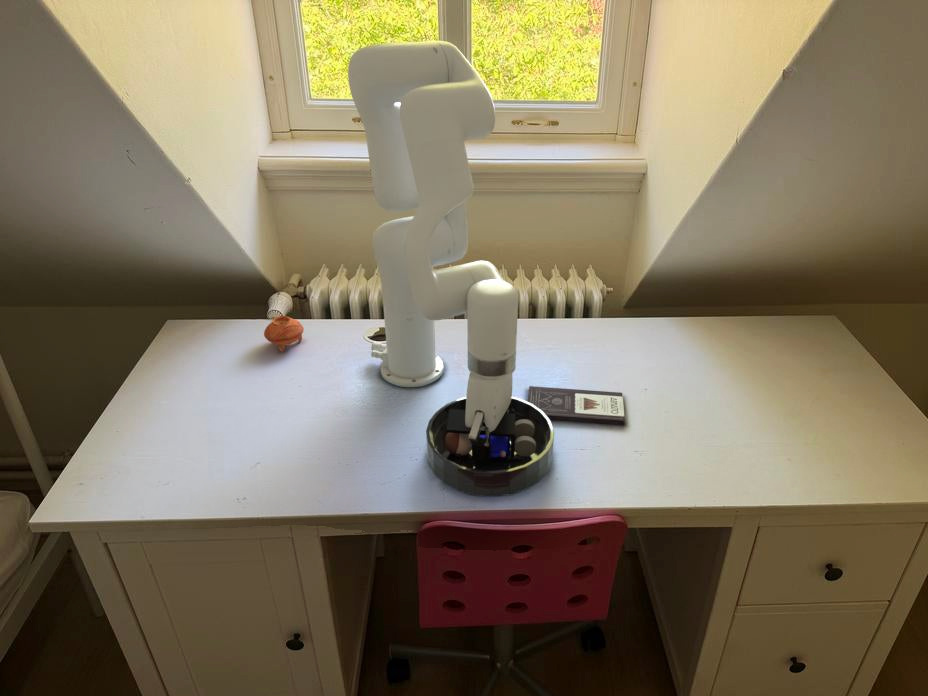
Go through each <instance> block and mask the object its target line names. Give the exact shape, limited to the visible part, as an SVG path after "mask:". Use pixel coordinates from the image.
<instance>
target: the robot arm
mask: <svg viewBox="0 0 928 696" xmlns="http://www.w3.org/2000/svg"><path fill="white" fill-rule="evenodd" d="M347 68H348V69H347V78H348V85H349V91H350V95H351V98H352V101H353V103H354V105H355V108H356V111H357V113H358V115H359V118H360V119H361V123H362V126H363V129H364V134H365V137H366V146H367V153H368V160H369V169H370V175H371V182H372V188H373V192H374V198H375V200H376V203H377V205H378V206H379V208H381V210H383V211H385V212H388V213H402V212H408V211H409V212H410V211H415V210H416V211H415V213H414V215H412V216H407V217H406V216H405V217H401V218H396V219H391V220H389V221H386V222H384V223H382V224H380V225H379V226H378V227H377V228H376V229H375V230H374V232H373V234H372V239H371V241H372V242H371V243H372V249H373V255H374V258H375V263H376V265H377V269H378V275H379V281H380V286H381V296H382V297H381V298H382V306H383V308H382V309H383V319H384V330H385V331H384V333H385V343H386V344H384V343H381V342H377V341H372V343H371V348H370V349H371V352H370V356H371V357H372V358H376V359H381V361H382V362H381V364H380V374H381V377H382V378H383V379H384V380H385V381H386V382H388V383H389V384H392V385H394V386H398V387H403V388H418V387H424V386H426V385H429V384H432V383H433V382H436V381H437V380H439V379H440V378H441V376H442V375H443V374H444V369H445V366H444V365H445V364H444V361H443V359H442V358H441V357H440V356H439V355H437V353H436V330H435V321H442V320H446V319H451V318H454V317H458V316H461V315H465V314H466V315H467V316H466V318H467V321H466V322H467V325H466V326H467V370H468V371H469V372H470V373H469V376H468V380H467V388H466V396H465V397H466V414H465V424H466V426H467V427H470V428H471V427H472V428H471V431H470V434H469V440H470V441H471V444H472V460H473V461H477V462H481V463H485V464H490V463H491V444H490V443H489V442H490V437H491V432H492V431H493V430H495V428H496V427H497V425H498V424H499V422H500V420H501V419H502V417H503V416H504V414H505V413H508V412H509V405H510V402H511V398H512V397H513V373H515V371H516V367H517V365H516V364H517V341H518V340H517V339H518V338H517V336H518V320H519V319H518V317H519V314H518V313H519V294H518V291H517V289H516V287H514V285H513V284H511V283H509V282H507V281H506V280H504V277H503V276H502V275H501V272H500V270H498V268H497V267H496V266H495V265H494V264H493V263H492V262H490V261H488V260H475V261H471V262H467V263H462V264H457V265H451V266H448V267H443V268H439V269H434V270H433V268H435V267H439V266H444V265H447V264H452V263H455V262H458V261H460V260H462V259H463V258H465V256H466V254H467V252H468V249H469V227H468V217H467V216H468V214H467V201H468V200H469V199H470V198H471V197H472V196H473V194H474V192H475V185H474V181H473V176H472V172H471V168H470V163H469V159H468V153H467V149H466V145H465V142H470V141H478V140H483V139H486V138H488V137H489V136H490V135H491V134H492V133H493V131H494V129H495V126H496V108H495V105H494V101H493V100H494V99H493V98H492V95H491V93H490V91H489V89H488V86H487V85H486V84H485V82H484V81H483V79H482V77H481V76H480V74H479V73H478V72H477V70H476V69H475V68H474V66H472V64H471V62H469V60H468V59H467V58H466V57H465V55H464V54H463V53H462V52H461V50H460V49H459V48H458V47H457V46H456V45H455V44H453V43H452V42H450V41H445V40H423V41H399V42H397V41H396V42H383V43H376V44H371V45H367V46H363V47H360V48H359V49H357V50H356V51H354V52H353V54H352V55H351V56H350V59H349V62H348V67H347ZM483 422H485V424H486V427H485V426H482V425H483ZM481 430H482V431H486V436H485V439H484V438H481V437H480V431H481Z"/></svg>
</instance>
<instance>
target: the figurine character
mask: <svg viewBox="0 0 928 696" xmlns="http://www.w3.org/2000/svg"><path fill="white" fill-rule="evenodd" d="M465 414H466V410H456V409H450V410H449V417H448V424H447V433H448V434H447V435H446V438H445V445H446V448H447V450H448V451H449V452H450V453H451V454H453V455H455V456H464V455H466V454H468V453H469V452H470V451H471V450H472V444H471V441H470V440H469V434H470V431H471V428H472V427H471V428H470V427H467V426H466V424H465ZM482 426H485V427H486V424H485V422H483V425H482ZM533 435H534V424H533V423H532V422H531V421H529V420H526V419H521V420H518V421H516V422H515V414H511V413H505V414H504V416H503V417H502V419H501V420H500V422H499V424H498V425H497V427H496V428H495V430H493V431H492V432H491V437H490V442H489V443H490V444H491V458H493V457H505V458H507V459H516V460H521V459H523V458H521V457H517V456H514V450H515V452H516V453H517V454H518V455H520V456H530V455H532V454H533V453H534V452H535V451H536V442H535V440H534V439H533V438H531V437H532V436H533ZM485 436H486V431H482V430H481V431H480V437H481V438H484V439H485ZM515 436H516V437H518V438H517V439H516V440H515ZM508 437H511V444H510V439H509V438H508ZM510 449H511V456H510ZM506 454H507V456H506Z"/></svg>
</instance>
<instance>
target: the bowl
mask: <svg viewBox="0 0 928 696" xmlns="http://www.w3.org/2000/svg"><path fill="white" fill-rule="evenodd" d="M450 409H456V410H466V396H463V397H460V398H457V399H455V400H453V401H450V402H448V403H446V404H445V405H443V406H441V407H440V408H439V409H438V410H435V411H436V412H434V413H433V415H432V416H431V417H430V419H429V420H428V423H427V427H426V430H425V437H426V439H425V440H426V454H427V462H428V466H429V467H430V469H431V471H432V473H433V475H435V476H436V477H437V478H438V479H439V480H440V481H441V482H442V483H443V484H445V485H446V486H448V487H451V488H452V489H454V490H456V491H458V492H461V493H465V494H469V495H471V496H472V495H473V496H481V497H499V496H500V497H501V496H508V495H512V494H515V493H519V492H522V491H525V490H527V489H529V488H531V487H532V486H534V485H536V484H537V483H539V482H540V481H541V480H542V479H543V478H544V476H546V475H547V473H548V472H549V470H550V467H551V465H552V462H553V451H554V439H555V429H554V426H553V423H552V420H550V419H549V418H548V417H547V416H546V415H545V413H544V412H543V411H542V410H540V409H539V408H537V407H536V406H534V405H533V404H532V403H529V402H528V400H525V399H522V398H519V397H516V396H512V398H511V402H510V405H509V412H508V413H511V414H515V422H516V421H518V420H521V419H526V420H529V421H531V422H532V423H533V424H534V435H533V436H532V437H531V438H533V439H534V440H535V442H536V451H535V452H534V453H533V454H532V455H530V456H520V455H518V454H517V453H516V452H515V450H514V456H517V457H521V458H523V459H521V460H516V459H507V458H505V457H493V458H491V463H490V464H485V463H481V462H477V461H473V460H472V450H471V451H470V452H469V453H468V454H466V455H464V456H455V455H453V454H451V453H450V452H449V451H448V450H447V448H446V445H445V438H446V435H447V434H448V433H447V424H448V417H449V410H450ZM508 438H509V439H510V444H511V437H508ZM517 438H518V437H516V436H515V440H516V439H517ZM506 456H507V454H506ZM510 456H511V449H510Z"/></svg>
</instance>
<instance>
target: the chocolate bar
mask: <svg viewBox="0 0 928 696" xmlns="http://www.w3.org/2000/svg"><path fill="white" fill-rule="evenodd" d="M623 397H624V396H623V392H618V391H617V392H616V391H606V390H605V391H604V390H603V391H602V390H589V389H574V388H561V387H546V386H533V385H529V386H528V396H527V402H529V403H532V404H533V405H534V406H536V407H537V408H539V409H540V410H542V411H543V412H544V413H545V415H546V416H547V417H548V418H549V419H550V421H565V422H578V423H579V422H580V423H594V424H606V425H620V426H624V425H625V421H626V420H625V419H626V418H625V409H624V408H625V407H624V398H623Z"/></svg>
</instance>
